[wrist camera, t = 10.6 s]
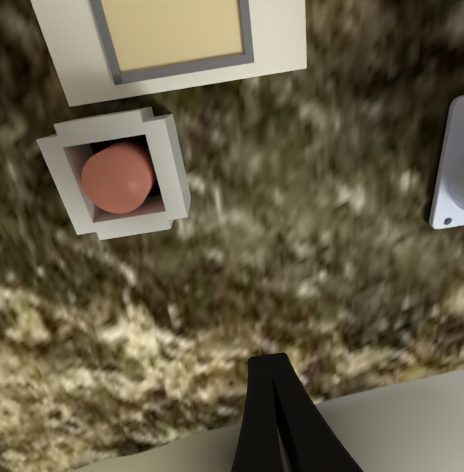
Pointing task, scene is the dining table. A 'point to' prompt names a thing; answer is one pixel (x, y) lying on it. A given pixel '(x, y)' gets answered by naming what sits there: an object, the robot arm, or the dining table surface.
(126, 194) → the button
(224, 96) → the dining table surface
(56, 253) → the dining table surface
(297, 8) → the sheet
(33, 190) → the dining table surface
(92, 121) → the button housing
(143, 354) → the dining table surface
